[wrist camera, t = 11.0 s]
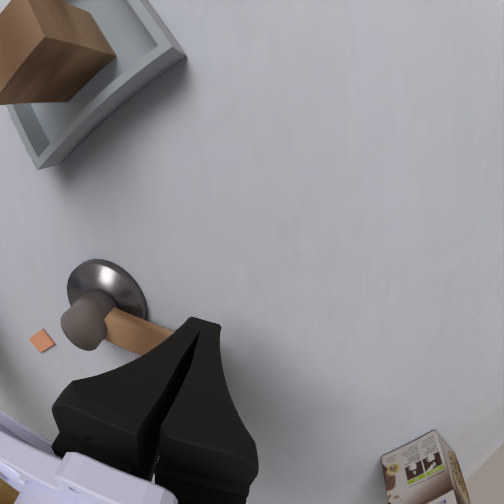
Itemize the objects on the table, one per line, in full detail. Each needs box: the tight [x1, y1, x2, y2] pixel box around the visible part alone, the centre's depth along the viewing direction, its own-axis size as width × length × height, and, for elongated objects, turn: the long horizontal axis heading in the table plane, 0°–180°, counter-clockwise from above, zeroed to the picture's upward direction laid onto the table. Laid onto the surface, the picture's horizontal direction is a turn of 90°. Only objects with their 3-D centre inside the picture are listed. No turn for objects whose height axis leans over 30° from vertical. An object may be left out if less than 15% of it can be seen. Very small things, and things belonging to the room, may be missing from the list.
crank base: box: [67, 259, 147, 321], centre depth 19 cm, size 6×6×1 cm
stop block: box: [0, 0, 117, 105], centre depth 10 cm, size 4×4×6 cm
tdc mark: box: [30, 329, 55, 352], centre depth 22 cm, size 3×2×1 cm, turn 121°
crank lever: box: [61, 289, 174, 356], centre depth 16 cm, size 10×3×6 cm, turn 71°
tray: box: [6, 0, 187, 170], centre depth 12 cm, size 10×10×2 cm
